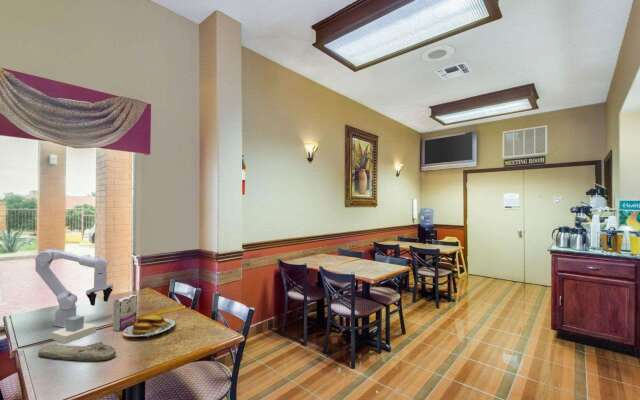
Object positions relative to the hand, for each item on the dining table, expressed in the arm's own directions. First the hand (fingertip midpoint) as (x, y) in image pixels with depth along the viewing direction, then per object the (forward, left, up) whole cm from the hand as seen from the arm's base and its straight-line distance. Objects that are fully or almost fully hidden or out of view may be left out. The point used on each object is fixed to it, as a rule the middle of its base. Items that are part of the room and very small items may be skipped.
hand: (99, 303), depth 174 cm
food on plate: (+39, -1, -10) cm, 40 cm away
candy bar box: (+22, -2, -10) cm, 24 cm away
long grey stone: (+30, -33, -10) cm, 46 cm away
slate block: (+9, -19, -6) cm, 22 cm away
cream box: (+8, -19, -10) cm, 23 cm away
